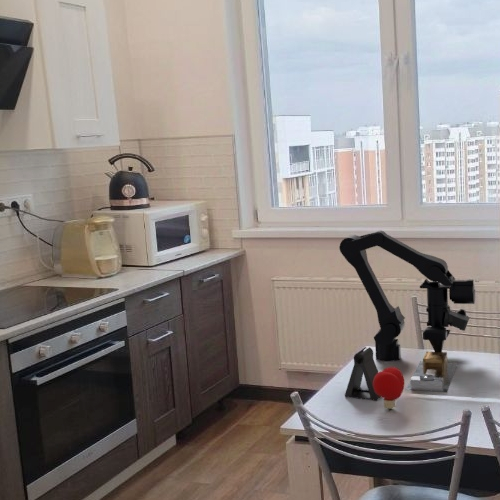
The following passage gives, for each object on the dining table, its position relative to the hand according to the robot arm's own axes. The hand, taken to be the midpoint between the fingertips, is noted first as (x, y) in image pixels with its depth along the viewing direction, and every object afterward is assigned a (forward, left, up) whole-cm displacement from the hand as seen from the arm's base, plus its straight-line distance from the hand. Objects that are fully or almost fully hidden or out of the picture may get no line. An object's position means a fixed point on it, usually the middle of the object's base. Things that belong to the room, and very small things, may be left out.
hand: (439, 356), depth 215 cm
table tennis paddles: (-7, -39, -2) cm, 40 cm away
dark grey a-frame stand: (-15, -30, -2) cm, 34 cm away
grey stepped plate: (0, -14, -2) cm, 14 cm away
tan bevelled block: (0, -9, -1) cm, 9 cm away
